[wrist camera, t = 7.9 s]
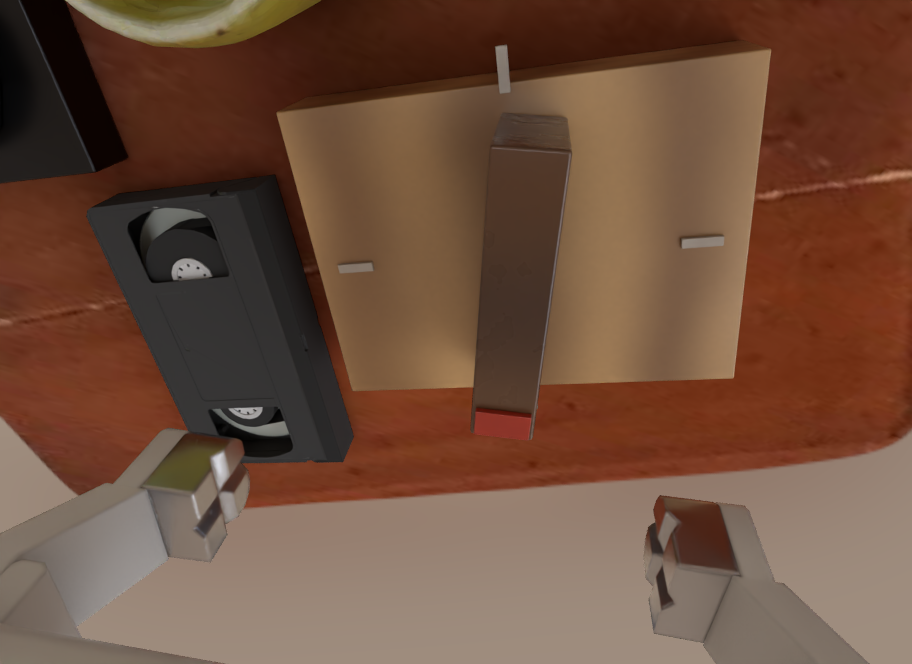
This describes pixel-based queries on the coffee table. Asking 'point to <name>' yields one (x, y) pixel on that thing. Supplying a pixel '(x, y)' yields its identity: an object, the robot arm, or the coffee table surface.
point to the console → (49, 97)
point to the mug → (190, 19)
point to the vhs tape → (228, 315)
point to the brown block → (518, 269)
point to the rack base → (584, 223)
